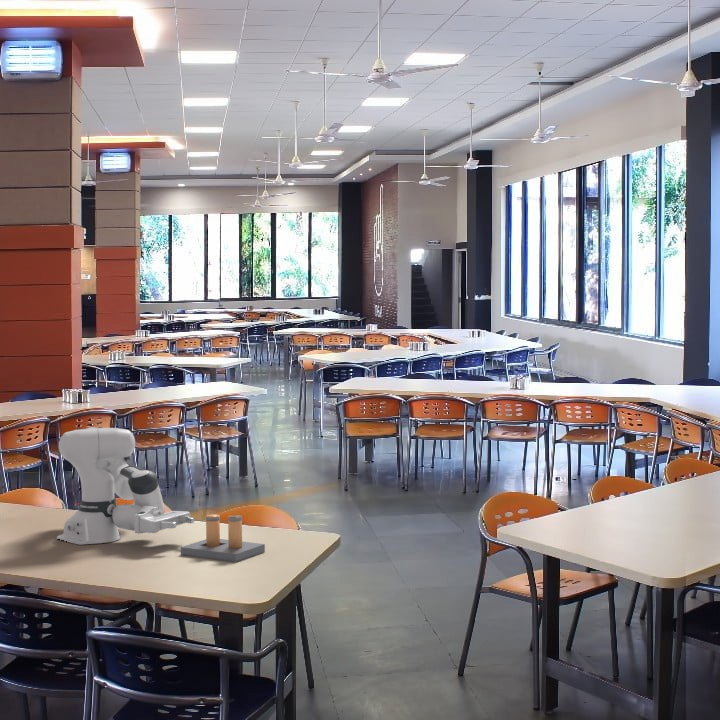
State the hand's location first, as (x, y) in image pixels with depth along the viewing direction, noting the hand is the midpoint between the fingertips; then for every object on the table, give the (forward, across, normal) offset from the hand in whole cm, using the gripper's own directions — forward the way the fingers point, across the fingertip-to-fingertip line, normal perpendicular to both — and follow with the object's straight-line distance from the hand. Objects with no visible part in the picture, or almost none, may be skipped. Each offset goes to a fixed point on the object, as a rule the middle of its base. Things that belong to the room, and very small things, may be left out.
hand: (183, 523), depth 333 cm
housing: (+16, 0, -9) cm, 18 cm away
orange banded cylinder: (+12, 0, -9) cm, 15 cm away
